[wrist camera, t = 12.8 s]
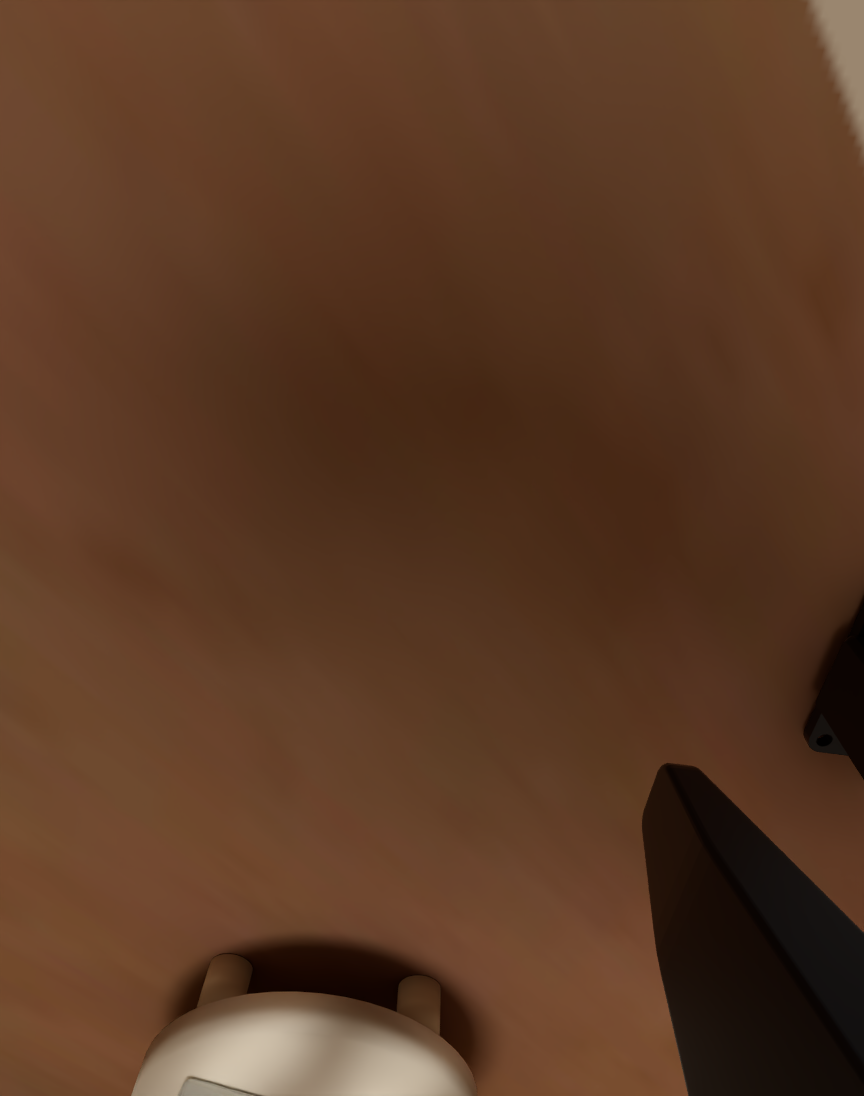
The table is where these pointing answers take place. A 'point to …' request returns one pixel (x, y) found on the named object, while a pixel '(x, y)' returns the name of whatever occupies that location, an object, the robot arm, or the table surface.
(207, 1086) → the supplement box
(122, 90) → the table surface
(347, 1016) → the stool
